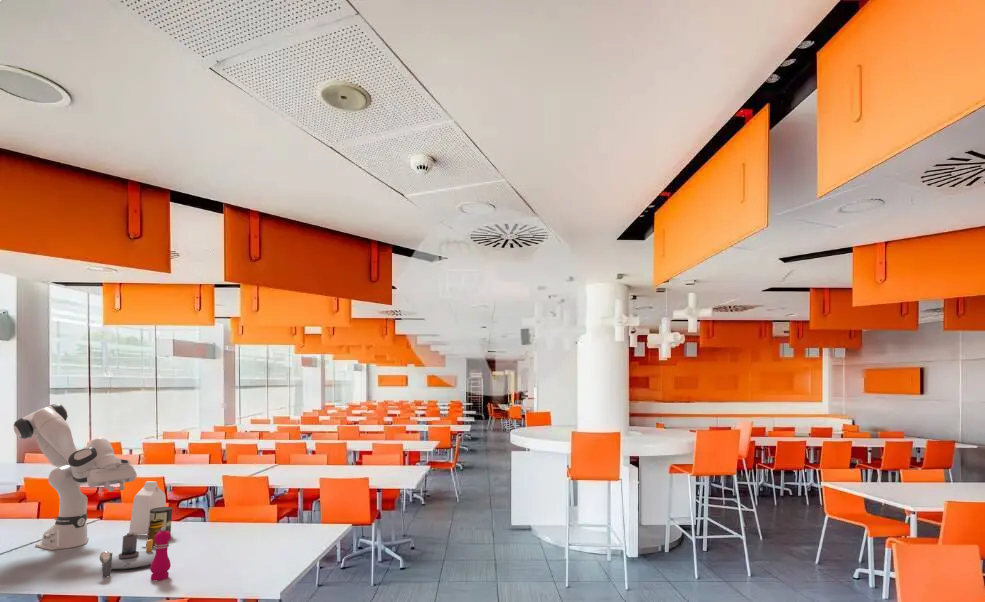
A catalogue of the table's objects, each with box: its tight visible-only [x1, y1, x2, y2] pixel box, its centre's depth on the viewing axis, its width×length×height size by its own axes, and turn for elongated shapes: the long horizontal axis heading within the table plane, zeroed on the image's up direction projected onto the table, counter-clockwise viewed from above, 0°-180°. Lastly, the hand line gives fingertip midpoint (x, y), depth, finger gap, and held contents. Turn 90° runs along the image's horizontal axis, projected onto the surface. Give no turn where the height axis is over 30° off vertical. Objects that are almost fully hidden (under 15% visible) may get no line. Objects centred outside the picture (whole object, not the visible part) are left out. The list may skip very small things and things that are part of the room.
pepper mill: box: [149, 527, 172, 582], centre depth 235 cm, size 7×7×20 cm
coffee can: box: [149, 506, 173, 535], centre depth 297 cm, size 10×10×14 cm
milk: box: [128, 480, 167, 536], centre depth 309 cm, size 12×12×26 cm
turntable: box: [101, 539, 156, 570], centre depth 254 cm, size 24×24×6 cm
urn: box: [118, 532, 139, 559], centre depth 257 cm, size 8×8×10 cm
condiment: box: [147, 519, 163, 546], centre depth 283 cm, size 7×8×12 cm
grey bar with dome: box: [99, 550, 113, 578], centre depth 237 cm, size 4×3×10 cm
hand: (117, 490), depth 268 cm, fingers open, 3 cm apart
